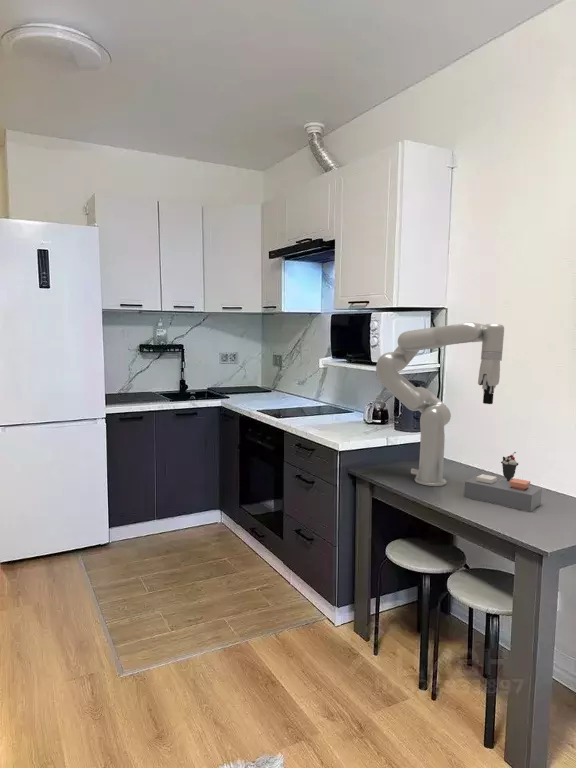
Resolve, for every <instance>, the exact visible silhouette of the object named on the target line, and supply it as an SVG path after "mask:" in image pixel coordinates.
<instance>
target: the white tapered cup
mask: <svg viewBox="0 0 576 768" xmlns="http://www.w3.org/2000/svg"><path fill="white" fill-rule="evenodd" d="M497 479H498V477H497V476H495V475H494V476H493V475H488V474H483V473H482V474H480V475H479V476H477V480H476V481H479V482H484V483H489V484H492V483H494V482H496V481H497Z"/></svg>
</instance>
